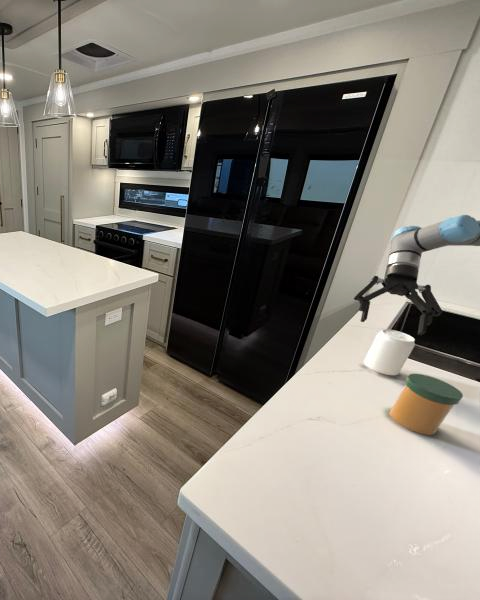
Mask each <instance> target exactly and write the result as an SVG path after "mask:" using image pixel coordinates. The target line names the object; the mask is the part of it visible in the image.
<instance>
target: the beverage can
mask: <svg viewBox="0 0 480 600" xmlns="http://www.w3.org/2000/svg"><path fill="white" fill-rule="evenodd" d="M415 341H416V339H415V338H414V337H413V336H411V335H410V334H408V333H405V332H402V331H398V330H394V329H389V328H385V329H382V330H381V331H379V332H378V333H377V335H375V338H374V340H373V342H372V344H371V346H370V348H369V350H368V352H367V355H366V356H365V358H364V360H363V363H364V364H365V366H366V367H367V368H368V369H370V370H372V371H374V372H376V373H379V374H382V375H385V376H398V375H399V374H400V373H401V371H402V369H403V367H404V366H405V363H406V362H407V360H408V358H409V356H410V355H411V353H412V352H413V350H414V348H415V345H416V343H415Z"/></svg>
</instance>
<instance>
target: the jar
mask: <svg viewBox="0 0 480 600" xmlns="http://www.w3.org/2000/svg"><path fill="white" fill-rule="evenodd" d="M454 406H455V405H447V404H442V403H438V402H435V401H432V400H429V399H427V398H425V397H422V396H420V395H418V394H417V393H415V392H413V391H412V390H411V389H409V388H408V387H407V386H406V384H405V385H404V387H403V388H402V390H401V392H400V394H399V395H398V396H397V399H396V400H395V402H394V403H393V406H392V407H391V409H390V410H389V415H390V417H391V418H392V420H394V421H395V422H396V423H397V424H399V425H400V426H402V427H404V428H405V429H407V430H410V431H412V432H415V433H417V434H421V435H425V436H431V435H434V434H436V432H437V431H438V429H439V428H440V427H441V425H442V424H443V422H444V421H445V419H446V418H447V416H448V415H449V413H450V412H451V410H452V409H453V407H454Z"/></svg>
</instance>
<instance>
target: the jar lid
mask: <svg viewBox="0 0 480 600" xmlns="http://www.w3.org/2000/svg"><path fill="white" fill-rule="evenodd" d="M404 384H405V385H406V386H407V387H408V388H409V389H411V390H412V391H413V392H415V393H417V394H418V395H420V396H422V397H425V398H427V399H429V400H432V401H435V402H438V403H442V404H447V405H454V406H455V405H458V404H459V403H460V401H461V400H462V399H463V397H464V395H463V393H462V391H461V390H460V389H458V388H457V387H455V386H453V385H452V384H450V383H448V382H446V381H444V380H441V379H439V378H436V377H433V376H430V375H427V374H421V373H410V374H408V375H407V377H406V379H405V381H404Z"/></svg>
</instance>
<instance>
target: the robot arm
mask: <svg viewBox="0 0 480 600" xmlns="http://www.w3.org/2000/svg"><path fill="white" fill-rule="evenodd" d="M448 246H450V247H452V246H453V247H454V246H455V247H456V246H459V247H461V246H463V247H464V246H465V247H466V246H469V247H470V246H471V247H480V220H477V219H476V218H475V217H473V216H471V215H469V214H461V215H458V216H454V217H449V218H447V219H444V220H442V221H439V222H435V223H433V224H430V225H428V226H424V227H420V226H418V225H409V226H402V227H399V228H397V229H396V230H395V231H394V233H393V234H392V237H391V240H390V247H389V254H388V257H387V258H388V259H387V263H386V269H385V273H384V278H381V277H379V276H378V275H374V276H373V277H372V278H371V279H370V281H369V283H368V284H367V285H365V286H364V287H363V289H361V290H360V291H359V292H358V293H357V294H356V295H355V296H354V297H353V300H354V301H358V303H359V306H358V310H359V312H361V316H360V320H359V321H360V323H364V322H365V321H366V320H367V319H368V315H369V311H370V305H371V300H373V299H375V298H377V297H380V296H381V295H383V294H386V293H389V294H390V295H396V296H399V297H405V298H406V299H407V300H409V301H410V302H411V303H412V304H413V305H414V306H415V307H416V308H417V309H418V310H419V311H420V312H421V315H420V316H419V323H418V330H417V336H422V335H424V334H426V333H427V330H428V329H427V328H428V327H429V326H430V325H431V324H432V323H433V318H434V317H439V316H440V315H442V314H443V313H444V312H443V309H442V308H441V306H440V304H439V303H438V301H437V299H436V297H435V295H434V293H433V292H432V286H431V285H430V284H426V285H420V284H418V278H419V271H420V267H421V266H420V265H421V259H422V254H423V253H426V252H428V251H432V250H436V249H439V248H440V249H441V248H445V247H448ZM379 284H381V286H383V287H381V288H379V289H378V290H377V289H376V291H374V292H371V293H369V294H368V295H365V294H367V293H368V291H370V290H371V289H372V288H373V287H374V286H376V285H379ZM418 292H419V293H418ZM419 294H421V296H420V295H419ZM364 295H365V296H364Z"/></svg>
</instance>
